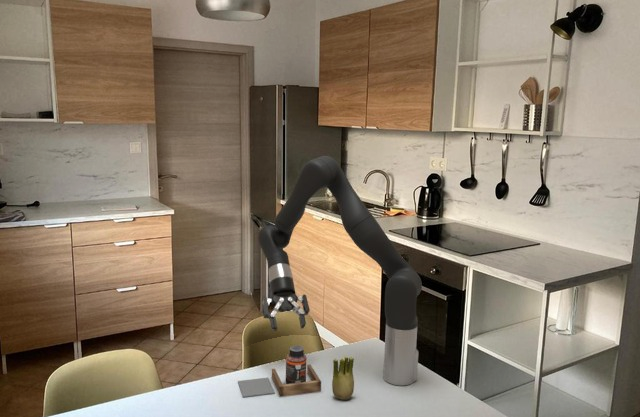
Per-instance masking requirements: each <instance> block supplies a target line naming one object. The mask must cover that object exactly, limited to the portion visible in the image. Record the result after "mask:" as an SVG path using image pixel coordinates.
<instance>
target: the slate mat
mask: <svg viewBox="0 0 640 417" xmlns="http://www.w3.org/2000/svg"><path fill="white" fill-rule="evenodd" d="M237 383H238V387H239V390H240V393H241V396H242V398H243V399H244V398H246V399H247V398H253V397H260V396H268V395H274V394H275V393H276V392H275V390H274V387H273V385H272V383H271V381H270V378H269V377H259V378H253V379H251V378H250V379H244V380H237ZM275 395H276V394H275Z"/></svg>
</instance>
